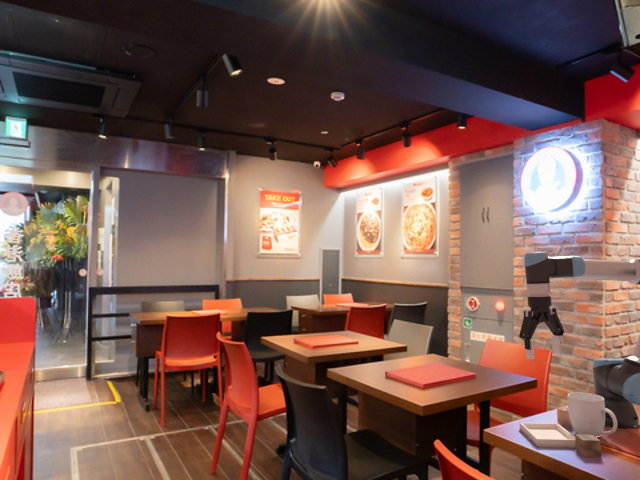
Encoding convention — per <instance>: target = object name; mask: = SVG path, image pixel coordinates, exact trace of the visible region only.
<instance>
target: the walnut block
mask: <svg viewBox="0 0 640 480" xmlns="http://www.w3.org/2000/svg"><path fill="white" fill-rule="evenodd" d="M574 436H575V440H576V448H575V450H576V452H578V454H580V455H581V456H582V457H584V458H602V448H601V440H600V439H599V438H596V437H595V436H593V435H586V434H576V433H575V434H574Z"/></svg>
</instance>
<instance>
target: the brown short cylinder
mask: <svg viewBox="0 0 640 480" xmlns="http://www.w3.org/2000/svg"><path fill="white" fill-rule="evenodd" d="M556 417H557V423H558V424H559V425H561V426H562V427H563V428H564V429H573V427H572V424H571V421H570V418H569V412H568V407H564V406H561V407H560V406H559V407H556Z"/></svg>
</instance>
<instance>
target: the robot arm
mask: <svg viewBox="0 0 640 480" xmlns="http://www.w3.org/2000/svg"><path fill="white" fill-rule="evenodd" d="M523 266H524V270H525V271H524V272H525V280H526V281H525V282H526V283H525V284H526V293H527V295H528V296H527V306H528V307H529V308H530V310H524V311H523V319H522V323H521V327H520V331H519V335H518V338H519V339H521V340H523V342H524V349H525V356H526V359H527V360H535V358H536V357H535V346H534V340H533V339H532V338H533V336H534V334H535V332H536V330H537V327H538V326H539V325H540V324H541V323H544V324H545V325H546V327H547V328H548V330H549V331H550V332H551V333H552V335H551V346H552V347H551V348H552V349H551V350H552V354H553V355H559V356H560V355H562V349H561V344H562V343H561V341H562V340H561V337H563V336H564V333H565V330H564V327H563V325H562V322H561V321H560V318H559V316H558V313H557V308H555V307H552V296H550V295H551V294H552V291H551V283H550V279H557V278H558V279H559V278H560V279H580V280H582V279H583V280H597V281H614V282H615V281H616V282H628V283H629V284H631V285H639V286H640V258H631V259H630V260H627V261H626V260H625V261H624V260H603V259H586V258H583V257H582V256H580V255H569V256H568V255H566V256H565V255H564V256H549V255H548V253H547V251H535V252H527V253H525V255H524V265H523ZM592 372H593V384H594V385H593V388H594V394H595V395H599V396H601V397H603V398H604V401H605V408H607V409H609V410H610V411H612V412H613V413H614V415H615V417H616V419H617V428H619V427H634V426H638V425H639V426H640V418H639V416H638V412H637V411H636V408H635V406H634V405H637V406H639V407H640V335H639V336H638V338H637V341H636V342H635V345H634V348H633V351H632V354H631V355H630V356H629V355H628V356H626V357H624V358H615V357H614V358H609V357H607V358H601V357H599V358H595V359H594V360H593V361H592ZM604 426H608V427H612V428H613V420H612V417H611V416H610V415H609V413H607V412H605V425H604ZM639 426H638V427H639Z"/></svg>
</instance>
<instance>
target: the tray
mask: <svg viewBox="0 0 640 480" xmlns="http://www.w3.org/2000/svg"><path fill="white" fill-rule="evenodd" d="M519 430H520V431H521V433H523V435H525V436H526V437H527V438H528V439H529V440H530V442H532V443H533V444H534V446H536V447H537V446H538V447H537V448H566V449H567V448H571V449H572V448H574V449H576V440H575V435H574V434H572V433H571V432H570V431H568V430H567V428H563V427H562V426H561V425H559V424H558V422H519Z"/></svg>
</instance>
